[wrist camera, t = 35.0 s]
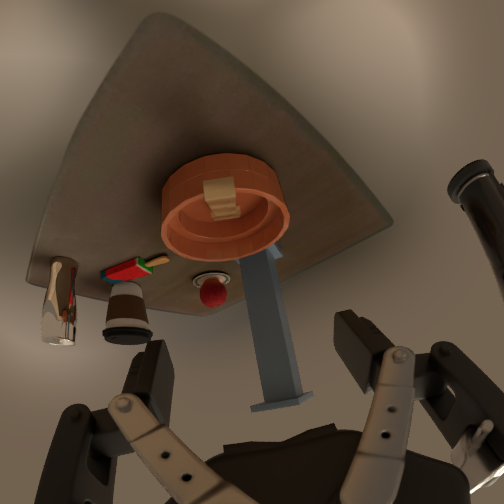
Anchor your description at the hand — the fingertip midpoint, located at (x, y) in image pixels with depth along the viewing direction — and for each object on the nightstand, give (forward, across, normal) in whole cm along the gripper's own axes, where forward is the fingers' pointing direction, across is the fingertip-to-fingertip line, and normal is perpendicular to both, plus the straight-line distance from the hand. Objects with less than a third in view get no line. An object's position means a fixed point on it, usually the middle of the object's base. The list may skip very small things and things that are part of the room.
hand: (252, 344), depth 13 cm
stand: (+39, -5, +7) cm, 40 cm away
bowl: (+28, 0, -4) cm, 28 cm away
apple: (+47, +4, +15) cm, 50 cm away
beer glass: (+36, +31, +4) cm, 48 cm away
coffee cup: (+46, +23, +14) cm, 53 cm away
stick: (+20, 0, -3) cm, 20 cm away
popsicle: (+40, +18, +7) cm, 44 cm away
